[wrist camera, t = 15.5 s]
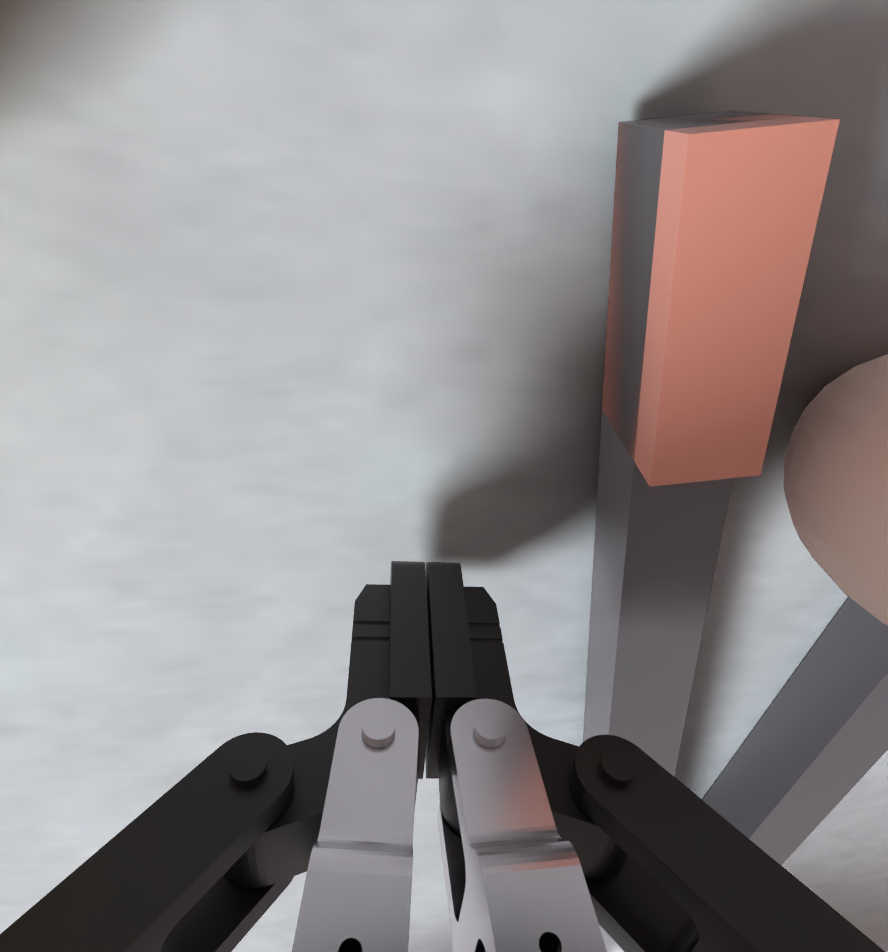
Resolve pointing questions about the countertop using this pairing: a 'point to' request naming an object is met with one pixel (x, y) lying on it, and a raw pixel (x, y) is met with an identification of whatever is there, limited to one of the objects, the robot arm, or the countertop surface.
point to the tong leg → (688, 386)
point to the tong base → (809, 740)
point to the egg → (845, 483)
